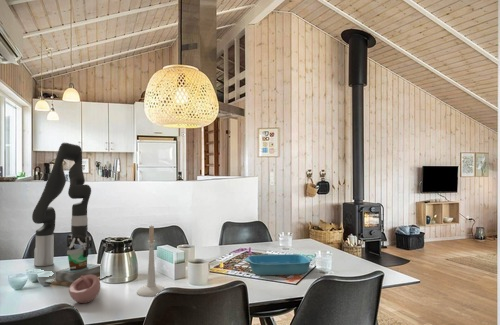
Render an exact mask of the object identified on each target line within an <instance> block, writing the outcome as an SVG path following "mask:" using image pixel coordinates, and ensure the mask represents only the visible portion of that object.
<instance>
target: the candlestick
mask: <svg viewBox="0 0 500 325" xmlns="http://www.w3.org/2000/svg"><path fill="white" fill-rule="evenodd" d="M154 228H155V226H154V225H150V226H149V228H148V229H149V230H148V231H149V232H148V236H149V238H148V240H147V243H148V246H149V249H148V266H147V267H148V268H147V283H146V285H143V286H141V287H139V288H138V289H136V295H138V296H139V297H148V298H149V297H156V294H157V293H159V292H160V291H161V290H163V289H165V288H166V287H165V286H163V285H160V284H157V283H156V270H155V269H156V267H155V248H154V246H155V242H156V240H155V237H154V236H155V231H154V230H155V229H154Z"/></svg>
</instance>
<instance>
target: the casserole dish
mask: <svg viewBox="0 0 500 325" xmlns="http://www.w3.org/2000/svg"><path fill="white" fill-rule="evenodd" d="M244 260H245V262H246V263H248V265H249V266H250V268H251V271H252V272H253V273H254V274H255V275H257V276H288V275H289V276H291V275H294V276H295V275H303V274H306V273H307V272H308V270H309V267H310V264H311V261H313V259H312V258H311V257H310V256H305V255H304V254H297V253H296V254H294V253H289V254H288V253H286V254H285V253H284V254H281V253H280V254H253V255H249V256H248V257H246V258H245V259H244Z"/></svg>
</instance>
